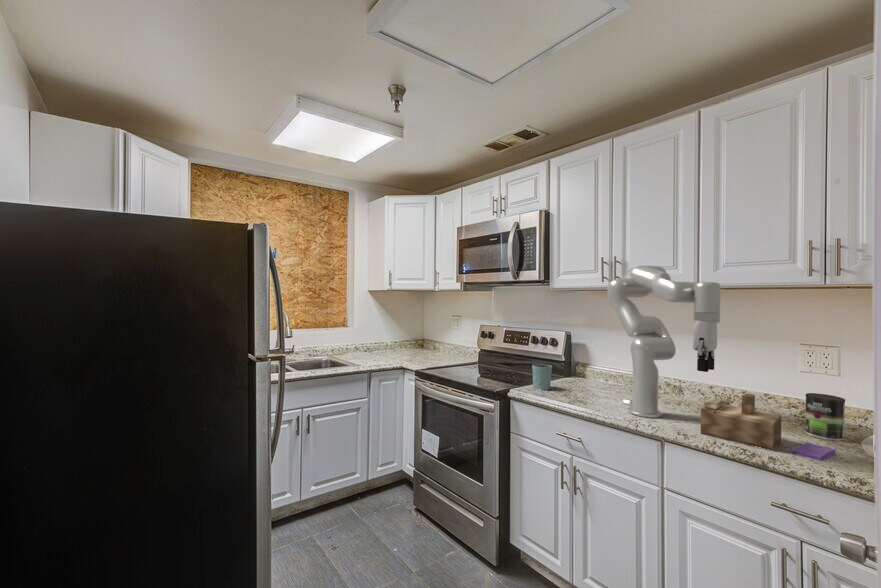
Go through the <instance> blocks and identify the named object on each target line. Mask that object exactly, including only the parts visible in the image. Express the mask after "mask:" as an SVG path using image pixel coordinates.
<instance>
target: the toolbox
mask: <svg viewBox="0 0 881 588" xmlns="http://www.w3.org/2000/svg"><path fill="white" fill-rule="evenodd" d="M725 405H731V403H730V401H726V400H723V405H722V406H721V407H723V406H725ZM718 409H719V408H717V409H712V408H707V407H705V406H703V407H701V408H700V435H705V436H709V437H712V438H717V439H721V440H725V441H729V442H733V441H734V442H733V443H737V442H738V443H737V444H741V443H743V445H746V444H747V445H746V446H750V445H753V446H752V447H754V446H757V447H756V448H758V447H761V448H760V449H762V448H765V449H764V450H767V449H769V450H768V451H771V450H773V449H774V448H775V447H776V448H777V446H779V444H780V443H781V441H782V418H781V419H780V420H779V421H777V422H776V423H775V424H774V425H773V426H772V425H767V424H762V423H757V422H752V421H747V420H742V419H737V418H732V417H727V416H722V415H717V414H715V411H717V410H718ZM776 448H775V449H776ZM775 449H774V450H775ZM774 450H773V451H774Z"/></svg>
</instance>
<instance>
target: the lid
mask: <svg viewBox="0 0 881 588" xmlns="http://www.w3.org/2000/svg"><path fill="white" fill-rule="evenodd" d="M755 402H756V395H755V394H751V393H744V394H743V395H741V406H736V405H731V404H730V405H725V406H723V407H719V409H718V410H717V411H715V414H717V415H722V416H727V417H732V418H737V419H742V420H747V421H752V422H757V423H762V424H767V425H772V426H773V425H774V424H775V423H776V422H777V421H779V420H780V419H781V420H782V414H780V413H779V414H778V413H774V412H769V411H764V410H763V411H762V410H758V409H755V408H756V405H755V404H756V403H755Z"/></svg>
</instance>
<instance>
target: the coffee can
mask: <svg viewBox="0 0 881 588" xmlns="http://www.w3.org/2000/svg"><path fill="white" fill-rule="evenodd" d="M845 403H846V398H843V397H840V396H837V395H832V394H825V393H815V392H814V393H813V392H809V393H808V392H807V393H805V420H804V421H805V422H804V423H805V424H804V427H805V428H804V430H805V431H804V433H805V434H806V435H807V436H811V437H813V438H818V439H822V440H827V441H834V442H835V441H836V442H842V441H845V414H846V413H845V409H846V407H845V406H846V404H845Z"/></svg>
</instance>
